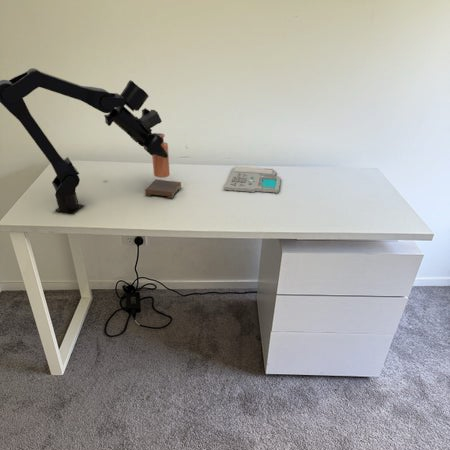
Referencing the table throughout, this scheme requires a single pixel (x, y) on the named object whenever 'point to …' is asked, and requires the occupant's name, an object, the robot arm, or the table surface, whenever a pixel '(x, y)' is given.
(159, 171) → the vase
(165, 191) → the stand
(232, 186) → the office telephone
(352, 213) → the table surface
